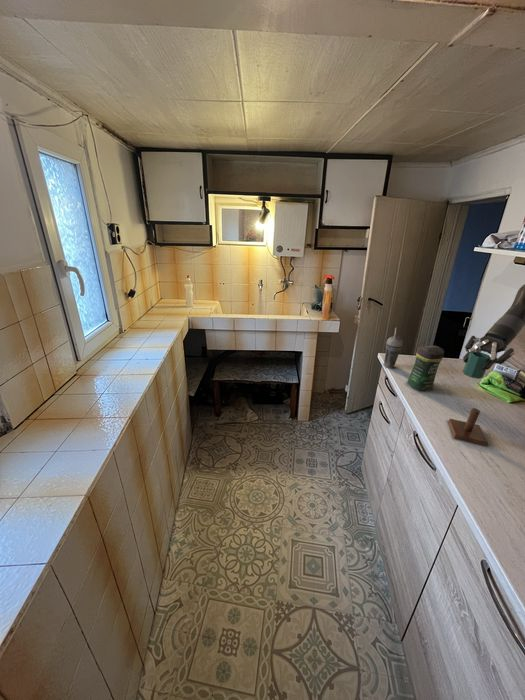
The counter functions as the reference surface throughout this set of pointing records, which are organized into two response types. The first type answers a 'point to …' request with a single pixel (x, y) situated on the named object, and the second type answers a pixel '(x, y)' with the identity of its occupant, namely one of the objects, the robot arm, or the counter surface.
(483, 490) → the counter surface
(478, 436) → the peg stand
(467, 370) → the green octagonal tube
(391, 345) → the beverage cup
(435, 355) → the coffee jar
